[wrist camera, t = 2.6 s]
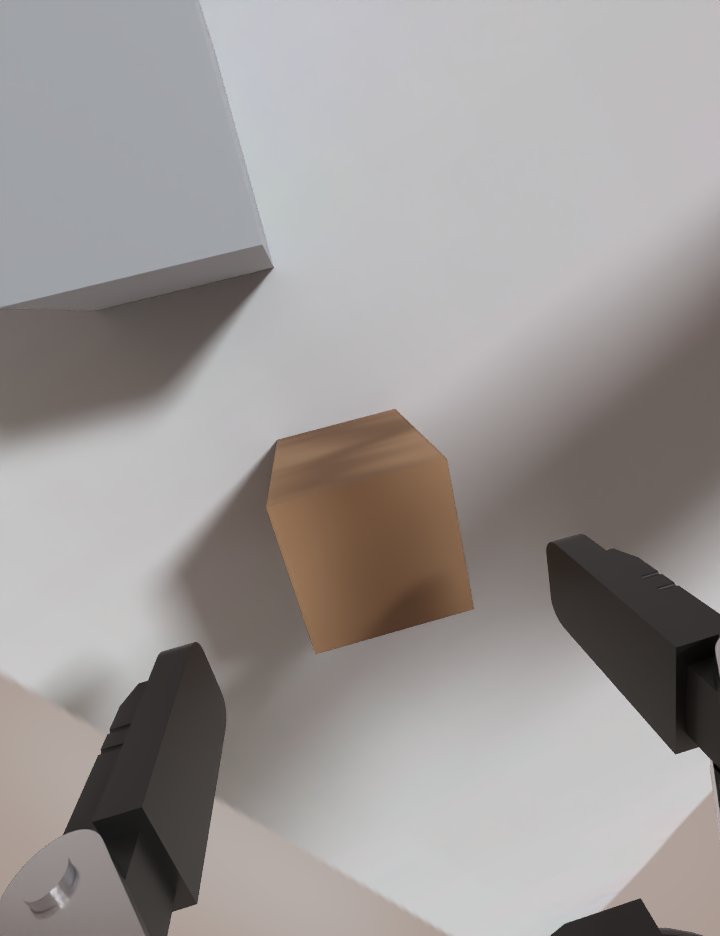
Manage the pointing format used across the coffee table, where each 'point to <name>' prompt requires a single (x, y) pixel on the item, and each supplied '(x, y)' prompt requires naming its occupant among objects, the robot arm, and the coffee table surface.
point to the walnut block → (367, 529)
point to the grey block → (117, 156)
